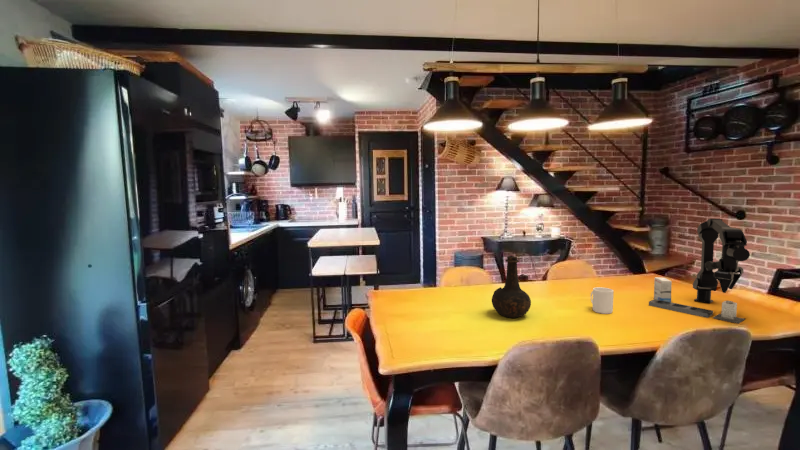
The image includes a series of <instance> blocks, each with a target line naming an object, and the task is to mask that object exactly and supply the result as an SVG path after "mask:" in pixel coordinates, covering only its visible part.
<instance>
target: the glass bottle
mask: <svg viewBox="0 0 800 450" xmlns="http://www.w3.org/2000/svg"><path fill="white" fill-rule="evenodd" d="M506 258H507V259H505V262H506V277H505V282H504V286H503V287H499V288H496V289H495V290H494V291H493V294H492V296H491V304H492V307H493V309H494V310H495V311H496V312H497V313H498V314H499V315H501V316H502V317H504V318H509V319H510V318H512V319H513V318H514V319H515V318H520V317H524V315H526V314H527V313H528V312H529V311H530V308H531V305H532V301H531V298H530V295H529V294H528V293H527V292H526V291H525V290H523V289H522V288H521V287H520V282H519V274H518V263H519V262H520V260H518V257H517V256H515V255H508V256H507V257H506Z"/></svg>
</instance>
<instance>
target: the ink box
mask: <svg viewBox="0 0 800 450" xmlns="http://www.w3.org/2000/svg"><path fill="white" fill-rule="evenodd" d="M653 282H654V283H653V284H654V285H653V288H654V289H653V300H654V299H657V300H662V301H667V302H672V285H673V284H672V283H673V281H672V280H670V279H668V278H666V277H657V276H656V277H654V279H653Z"/></svg>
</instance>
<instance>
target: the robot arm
mask: <svg viewBox="0 0 800 450" xmlns="http://www.w3.org/2000/svg"><path fill="white" fill-rule="evenodd" d="M696 231H697V234H698V235H697V236H698V238H699V240H700V241H701V257H700V258H701V260H700V270H699V271H698V272H697V274H696V278H695V279H694V280H693V282H692V288H693V289H694V290H696V298H695V299H694V300H693V301H695V302H700V303H705V304H711V303H713V302H714V300H713V299H711V298H712V291H713V292H716V291H717V289H718V286H719V285H718V284H720V288H721V292H722V293H723V294H726V293H727V291H728V290H733V289H734V286H735V285H736V284H737V282H738V281H739V279H740V278H741V277H742V276H743V274H744V268H743V267H742V266H739V265H738V264H739V262H744V261H747V260H748V259H749V258H750V256H751V254H750V251H749V250H748V249H747V248H745V247H746V246H747V242H748V241H747V238H746V236H745V233H744V232H743V230H742V229H740V228H738V227H731V226H730V225H728V224H727V223H725V222H724V221H723V219H721V218H708V219H707V220H706V221H703V222H701V223H699V225H698V227H697V230H696ZM718 238H719V240H720V241H721V258H719V260H717V261H714V249H715V248H714V247H715V242H716V241H717V239H718ZM713 270H715V271H713Z"/></svg>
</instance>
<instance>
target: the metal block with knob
mask: <svg viewBox="0 0 800 450" xmlns="http://www.w3.org/2000/svg"><path fill="white" fill-rule="evenodd" d="M737 308H738V303H737V302H735V301H732V300H724V301H722V302H721V313H720V314H721V318H725V319H729V320H734V319H736V317H737V310H738V309H737Z"/></svg>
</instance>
